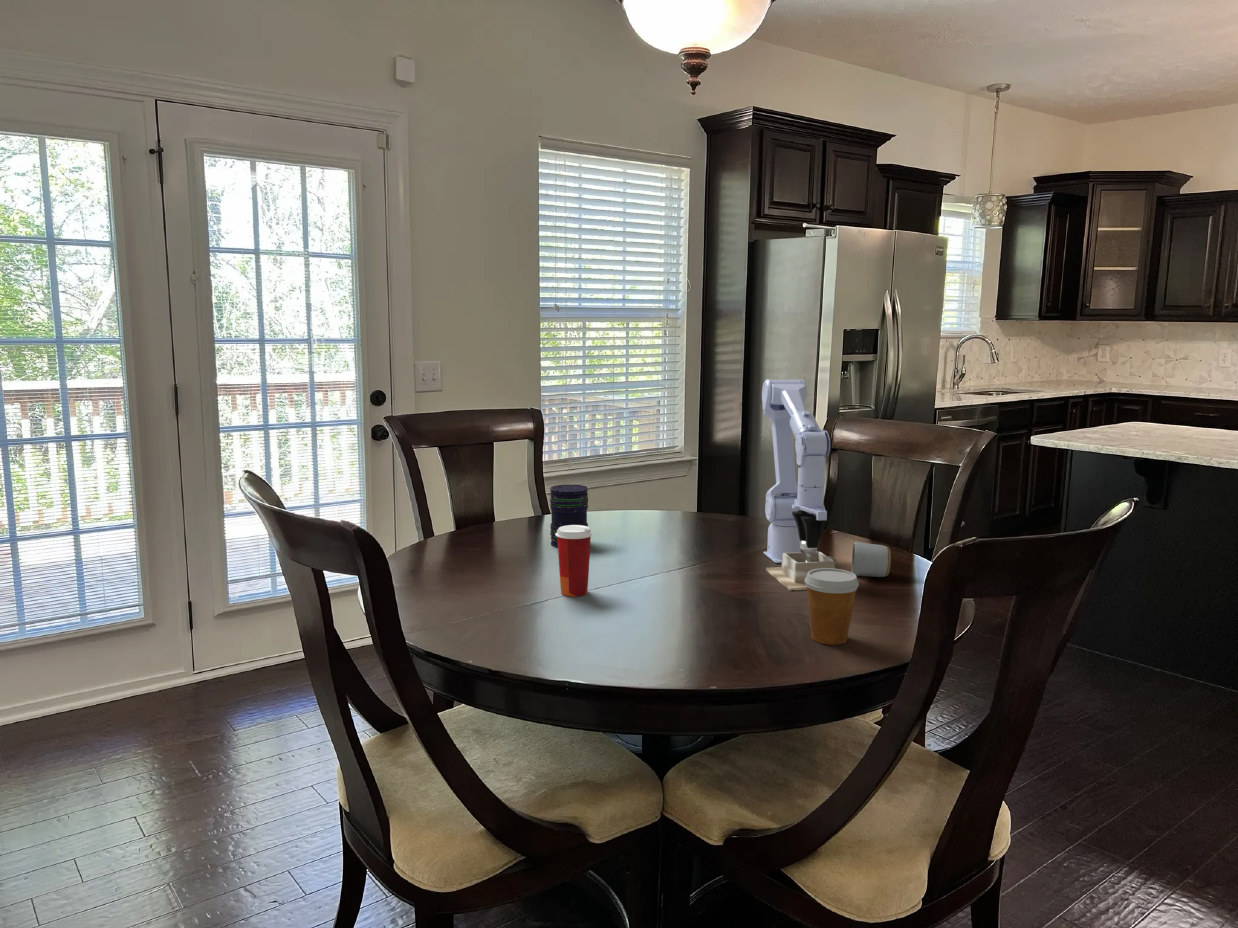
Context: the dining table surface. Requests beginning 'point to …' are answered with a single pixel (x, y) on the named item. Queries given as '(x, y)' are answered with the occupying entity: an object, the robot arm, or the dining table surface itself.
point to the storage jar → (567, 508)
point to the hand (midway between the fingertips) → (808, 545)
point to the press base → (799, 568)
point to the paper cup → (574, 559)
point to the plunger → (807, 550)
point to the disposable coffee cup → (830, 604)
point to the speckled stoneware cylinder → (870, 560)
